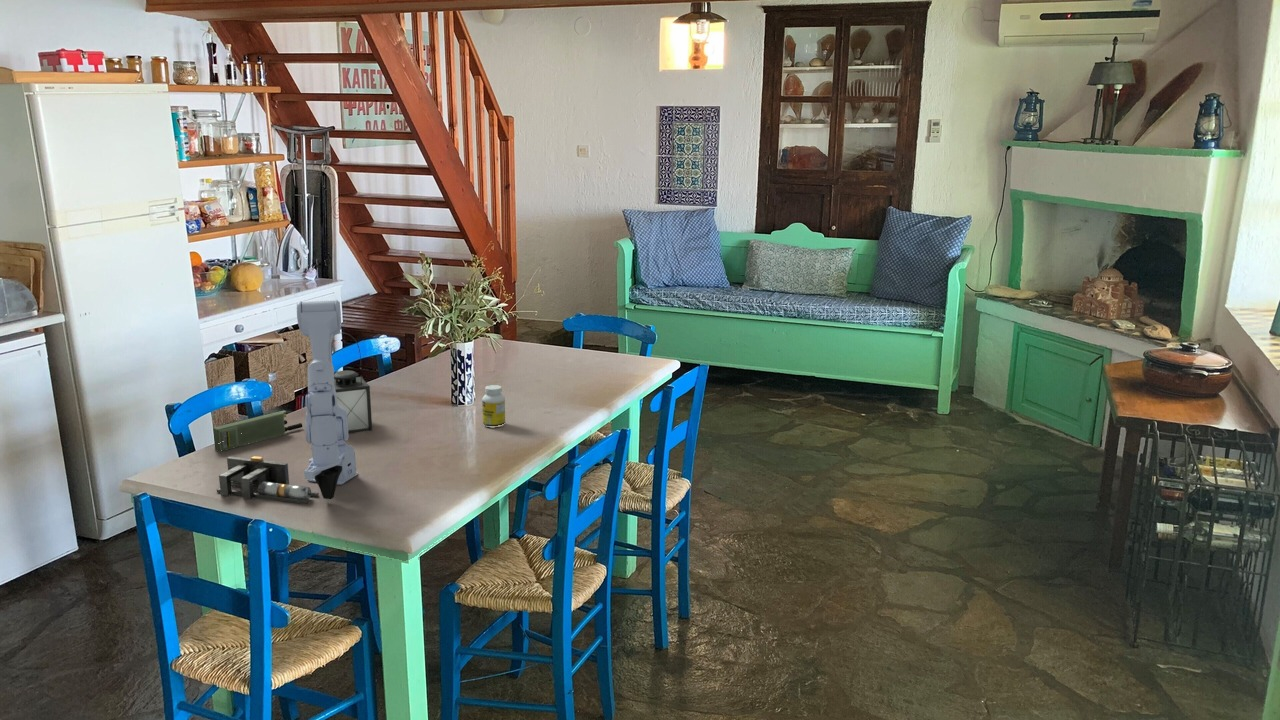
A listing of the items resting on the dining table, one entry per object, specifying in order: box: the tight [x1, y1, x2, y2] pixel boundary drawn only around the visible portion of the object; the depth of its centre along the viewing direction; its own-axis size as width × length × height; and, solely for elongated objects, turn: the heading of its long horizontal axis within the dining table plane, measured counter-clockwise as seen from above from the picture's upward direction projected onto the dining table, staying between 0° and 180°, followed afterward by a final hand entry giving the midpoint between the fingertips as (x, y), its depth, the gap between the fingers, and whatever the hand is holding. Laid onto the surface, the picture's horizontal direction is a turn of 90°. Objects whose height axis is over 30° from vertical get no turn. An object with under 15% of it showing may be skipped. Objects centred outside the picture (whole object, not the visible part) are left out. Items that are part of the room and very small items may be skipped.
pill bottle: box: [481, 384, 506, 427], centre depth 273 cm, size 6×6×12 cm
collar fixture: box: [216, 455, 320, 505], centre depth 222 cm, size 26×9×7 cm, turn 75°
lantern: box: [334, 332, 373, 434], centre depth 268 cm, size 11×11×28 cm
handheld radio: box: [212, 410, 303, 452], centre depth 259 cm, size 7×3×25 cm
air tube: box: [257, 482, 312, 501], centre depth 220 cm, size 12×3×3 cm, turn 75°
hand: (328, 497), depth 217 cm, fingers closed
